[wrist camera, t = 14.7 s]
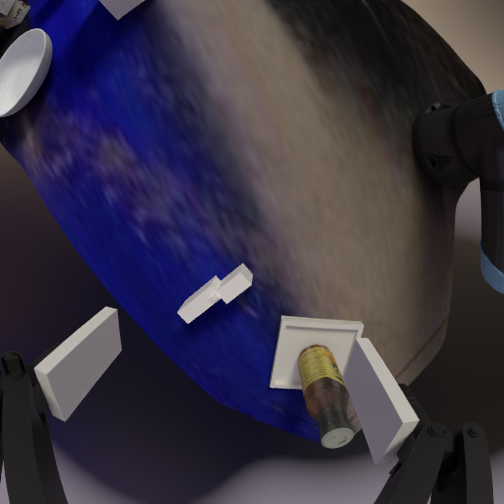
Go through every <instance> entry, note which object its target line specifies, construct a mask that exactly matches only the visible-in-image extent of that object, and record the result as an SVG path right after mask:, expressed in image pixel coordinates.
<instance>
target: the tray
mask: <svg viewBox="0 0 504 504" xmlns="http://www.w3.org/2000/svg"><path fill="white" fill-rule="evenodd" d="M363 327H364V325H363V324H362V322H361V321H349V320H332V319H317V318H303V317H291V316H281V320H280V326H279V332H278V338H277V344H276V350H275V355H274V361H273V366H272V372H271V377H270V387H271V388H287V389H302V384H301V379H300V374H299V367H298V359H299V355H300V353H301V351H302V350H304V349H305V348H307V347H308V346H311V345H315V344H317V345H323V346H326V347H327V348H328V349H329V350H330V351H331V352H332V354H333V356H334V358H335V361H336V363H337V365H338V368H339V370H340V373H341V375H342V377H343V376H344V373H345V370H346V367H347V364H348V361H349V358H350V355H351V352H352V348H353V345H354V342H355V338H361V334H362V331H363ZM343 380H344V379H343ZM344 383H345V382H344Z"/></svg>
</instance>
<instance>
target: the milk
mask: <svg viewBox="0 0 504 504" xmlns="http://www.w3.org/2000/svg"><path fill="white" fill-rule="evenodd" d="M99 1H100V2H101V3H102V4H103V5H104V6H105V7H106V9H107V10H108V11H109V12H110V13H111V14H112V15H113V16H114V17H115V18H116V19H117V20H119V19H120V18H121V17H122V16H124V15H125V14H126V13H128V12H129V11H130V10H132V9H133V8H135V7H136V6H137V5H139V4H140V3H142V2H143V1H145V0H99Z"/></svg>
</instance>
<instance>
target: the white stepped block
mask: <svg viewBox="0 0 504 504" xmlns="http://www.w3.org/2000/svg"><path fill="white" fill-rule="evenodd" d="M252 276H253V274H252V273H251V272H250V271H249V270H248V269H247V267H246V266H245V265H244V264H241V265H240V266H239V267H238V268H236V269H235V270H234V271H233V272H231V273H230V274H229V275H228V276H226V277H225V278H224V279H223V280H221V281H220V280H219V279H218V278H217V276H215V277H214V278H212V279H211V280H210V281H209V282H208V283H206V284H205V285H204V286H203V287H201V288H200V289H199V290H198V291H197V292H195V293H194V294H193V295H192V296H190V297H189V298H188V299H187V300H186V301H185V302H184V304H183V305H182V306H181V308H180V309H179V311H178V312H177V313H178V314H179V315H180V316H181V317H182V318H183V319H184V320H185V321H186V322H187V324H189V323H190V322H191V321H192V320H194V319H195V318H196V317H198V316H199V315H200V314H202V313H203V312H204V311H205V310H207V309H208V308H209V307H211V306H212V305H213V304H214V303H216V302H217V301H218V300H220V299H221V298H222V299H223V300H224V302H225V303H226V304H227V303H229V302H230V301H231V300H233V299H234V298H235V297H236V296H238V295H239V294H240V293H242V292H243V291H244V290H246V289H247V288H248V287H249V286H251V285H252Z"/></svg>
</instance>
